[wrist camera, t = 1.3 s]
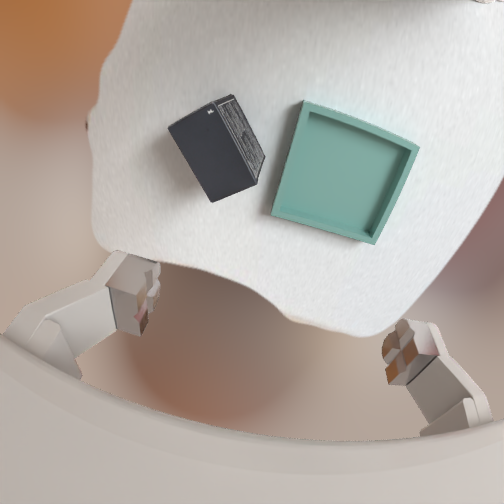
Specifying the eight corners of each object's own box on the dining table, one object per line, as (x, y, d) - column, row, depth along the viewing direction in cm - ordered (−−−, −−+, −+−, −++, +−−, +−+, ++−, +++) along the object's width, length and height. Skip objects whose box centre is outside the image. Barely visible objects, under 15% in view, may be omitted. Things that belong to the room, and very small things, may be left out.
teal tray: (303, 100, 33) (304, 101, 31) (412, 142, 33) (419, 147, 31) (271, 207, 43) (270, 215, 41) (370, 236, 43) (374, 245, 41)
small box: (193, 113, 36) (163, 127, 27) (233, 92, 33) (214, 98, 25) (227, 175, 41) (209, 205, 32) (267, 157, 38) (259, 184, 30)
